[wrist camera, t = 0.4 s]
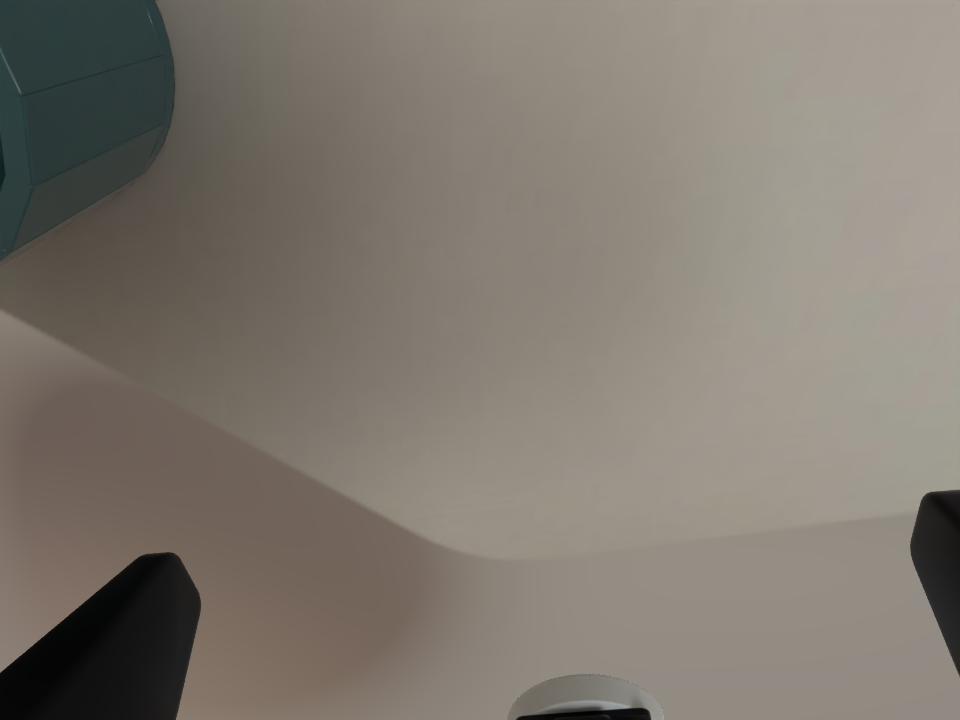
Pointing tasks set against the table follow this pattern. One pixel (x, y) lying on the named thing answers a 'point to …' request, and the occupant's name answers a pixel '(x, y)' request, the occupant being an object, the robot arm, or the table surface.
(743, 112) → the table surface
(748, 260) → the table surface
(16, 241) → the cup
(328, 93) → the table surface
